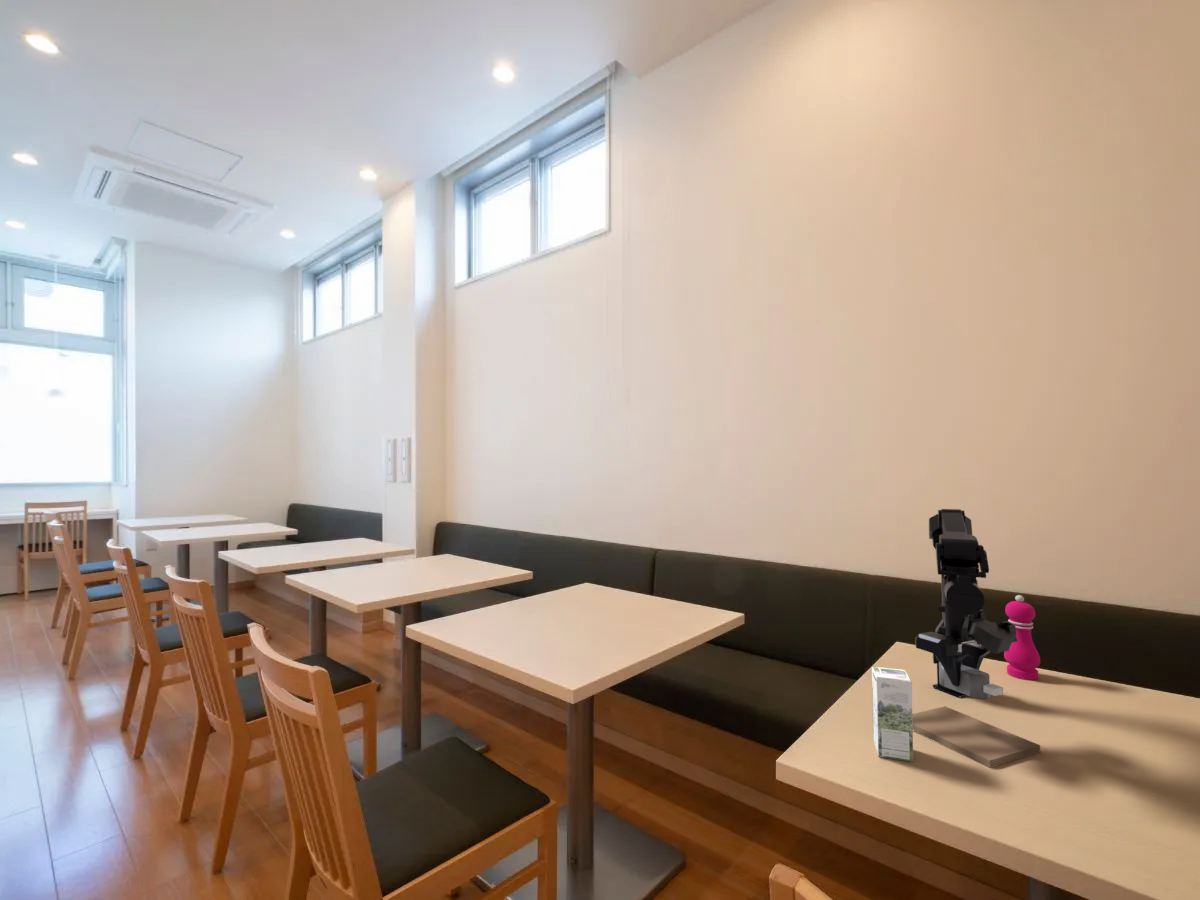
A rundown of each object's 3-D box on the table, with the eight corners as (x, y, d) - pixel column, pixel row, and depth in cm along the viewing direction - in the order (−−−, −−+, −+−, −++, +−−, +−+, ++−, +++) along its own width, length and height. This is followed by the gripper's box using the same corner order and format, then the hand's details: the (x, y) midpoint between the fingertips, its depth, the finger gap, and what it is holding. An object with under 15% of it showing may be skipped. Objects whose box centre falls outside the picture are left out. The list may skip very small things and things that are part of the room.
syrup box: (907, 747, 100) (904, 668, 101) (914, 763, 95) (911, 679, 95) (873, 742, 102) (871, 664, 103) (878, 758, 97) (875, 675, 97)
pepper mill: (1028, 670, 139) (1025, 592, 140) (1048, 681, 132) (1045, 598, 133) (998, 669, 140) (995, 591, 141) (1016, 680, 133) (1013, 598, 134)
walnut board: (897, 723, 110) (897, 717, 110) (945, 711, 115) (945, 706, 115) (989, 767, 93) (989, 760, 93) (1040, 751, 99) (1040, 745, 99)
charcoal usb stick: (934, 683, 108) (934, 662, 108) (948, 680, 110) (947, 660, 110) (992, 704, 98) (991, 682, 98) (1006, 701, 99) (1005, 679, 100)
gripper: (970, 617, 95) (973, 708, 94) (1036, 607, 102) (1040, 692, 101) (912, 603, 105) (914, 685, 104) (976, 595, 112) (979, 672, 111)
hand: (963, 684), depth 105 cm, fingers closed on charcoal usb stick, 4 cm apart
